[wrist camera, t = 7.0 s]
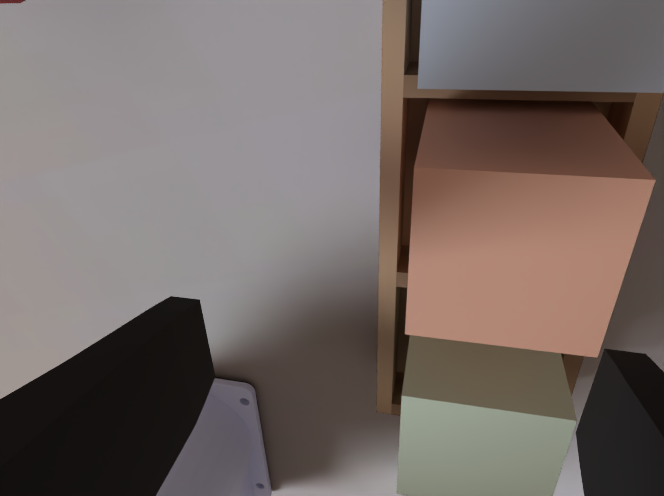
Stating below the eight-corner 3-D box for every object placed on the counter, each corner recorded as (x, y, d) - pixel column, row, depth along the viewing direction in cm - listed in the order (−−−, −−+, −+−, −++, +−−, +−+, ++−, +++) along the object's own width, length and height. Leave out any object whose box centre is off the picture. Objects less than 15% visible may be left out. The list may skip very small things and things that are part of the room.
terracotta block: (557, 233, 17) (597, 357, 12) (421, 223, 18) (405, 334, 13) (588, 97, 14) (655, 180, 9) (430, 93, 15) (413, 167, 10)
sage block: (524, 377, 20) (544, 520, 15) (412, 362, 21) (396, 493, 16) (545, 286, 18) (576, 420, 13) (418, 274, 19) (401, 395, 14)
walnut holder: (548, 388, 21) (558, 439, 19) (384, 367, 23) (376, 411, 20) (719, -249, 11) (781, -297, 9) (399, -214, 12) (386, -248, 10)
